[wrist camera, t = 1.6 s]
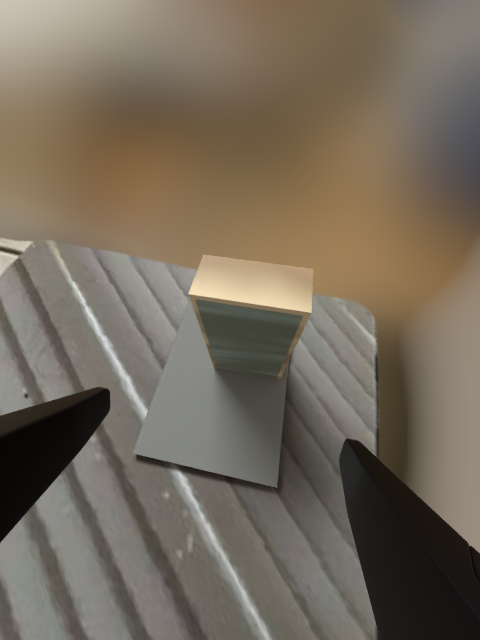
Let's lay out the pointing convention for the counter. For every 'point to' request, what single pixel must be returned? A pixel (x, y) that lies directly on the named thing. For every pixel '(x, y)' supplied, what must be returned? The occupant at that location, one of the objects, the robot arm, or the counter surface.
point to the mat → (214, 414)
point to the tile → (251, 312)
